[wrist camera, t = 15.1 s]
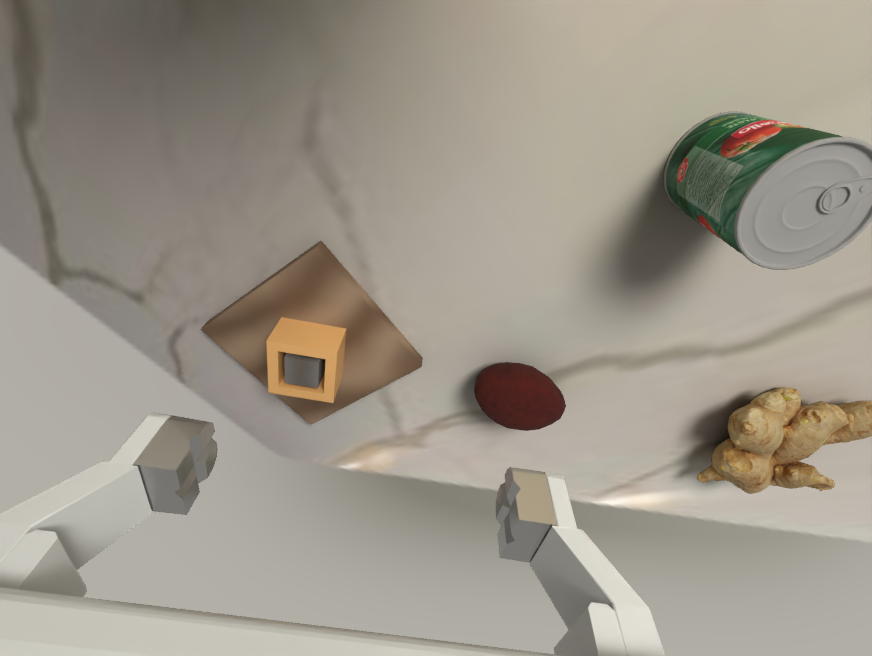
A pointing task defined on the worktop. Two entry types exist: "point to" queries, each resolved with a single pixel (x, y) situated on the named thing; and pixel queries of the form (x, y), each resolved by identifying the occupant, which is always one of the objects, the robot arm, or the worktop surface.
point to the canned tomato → (772, 187)
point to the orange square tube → (307, 343)
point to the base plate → (324, 304)
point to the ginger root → (784, 440)
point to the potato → (518, 396)
